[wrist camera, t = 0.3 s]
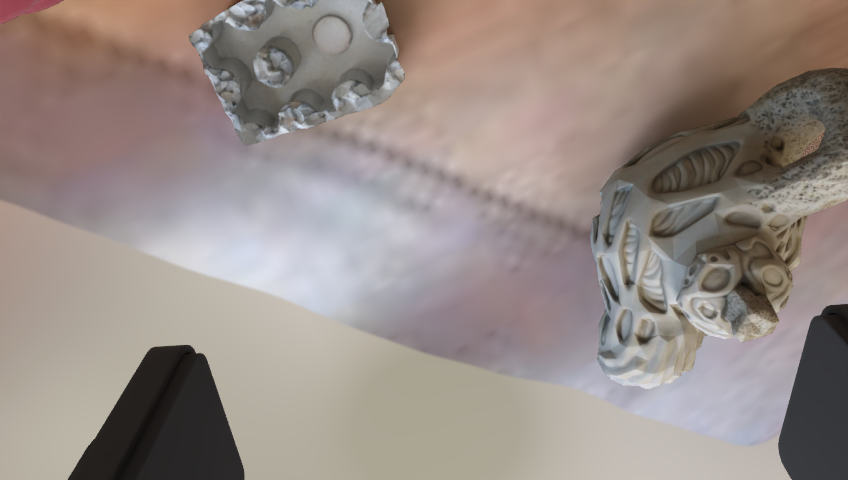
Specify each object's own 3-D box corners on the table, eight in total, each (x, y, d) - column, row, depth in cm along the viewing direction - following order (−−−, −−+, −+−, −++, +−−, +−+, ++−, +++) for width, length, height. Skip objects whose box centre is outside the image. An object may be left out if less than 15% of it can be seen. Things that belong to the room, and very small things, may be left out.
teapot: (651, 331, 48) (733, 503, 34) (515, 280, 45) (548, 442, 32) (852, 72, 38) (1074, 175, 25) (690, -10, 35) (838, 56, 22)
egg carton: (369, -50, 35) (362, -41, 31) (412, 79, 38) (410, 100, 35) (196, 13, 36) (171, 27, 33) (253, 131, 40) (236, 155, 36)
